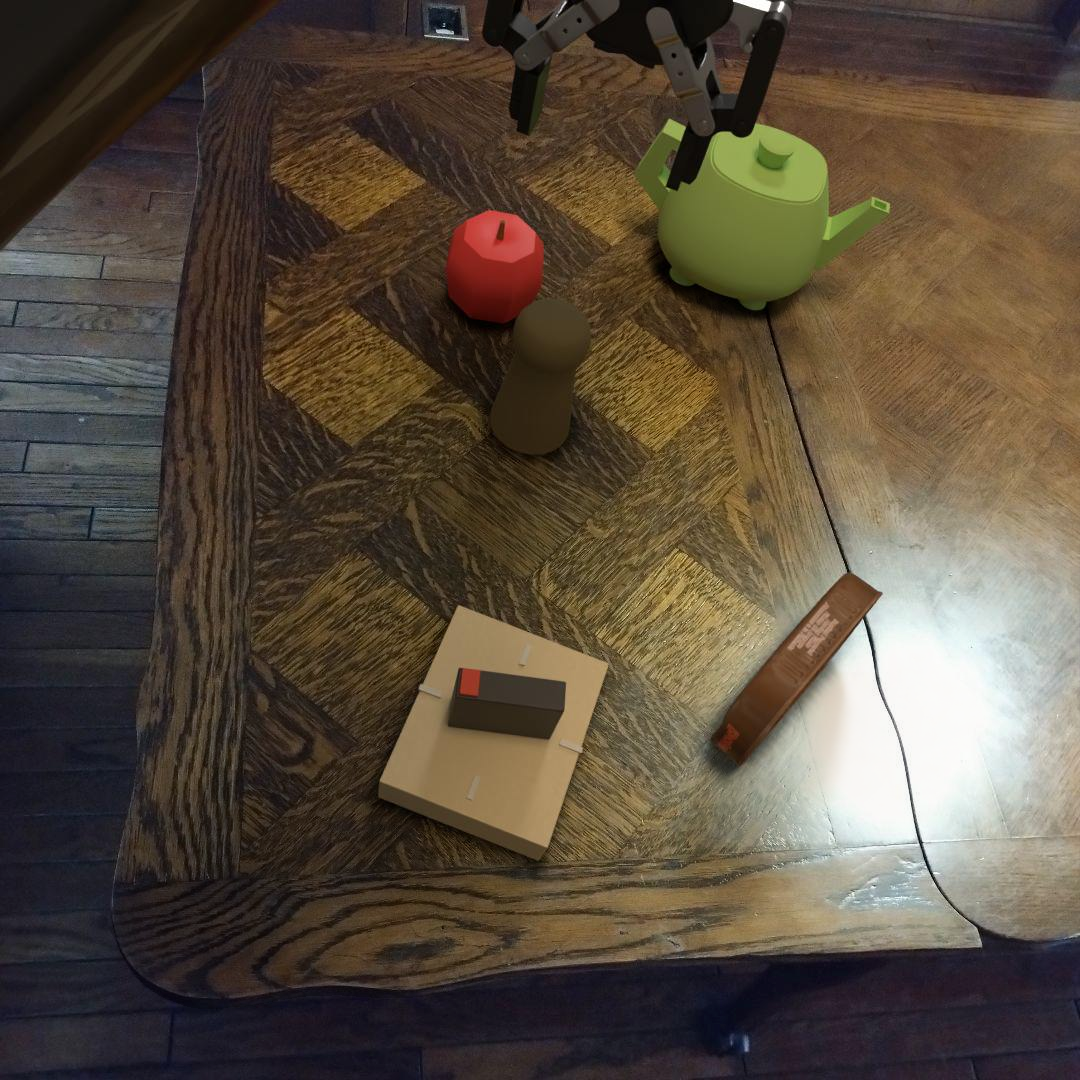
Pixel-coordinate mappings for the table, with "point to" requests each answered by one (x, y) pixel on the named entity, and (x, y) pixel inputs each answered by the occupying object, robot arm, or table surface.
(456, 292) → the apple
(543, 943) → the table surface
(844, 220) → the teapot
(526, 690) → the red tipped black brick
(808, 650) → the tin
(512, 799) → the panel
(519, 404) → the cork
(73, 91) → the robot arm
